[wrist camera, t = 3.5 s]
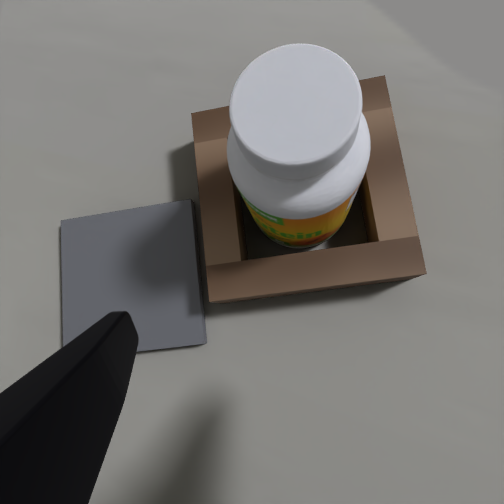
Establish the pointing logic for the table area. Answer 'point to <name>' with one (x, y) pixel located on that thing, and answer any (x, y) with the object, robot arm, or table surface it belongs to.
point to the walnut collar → (318, 261)
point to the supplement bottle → (298, 142)
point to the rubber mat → (135, 273)
